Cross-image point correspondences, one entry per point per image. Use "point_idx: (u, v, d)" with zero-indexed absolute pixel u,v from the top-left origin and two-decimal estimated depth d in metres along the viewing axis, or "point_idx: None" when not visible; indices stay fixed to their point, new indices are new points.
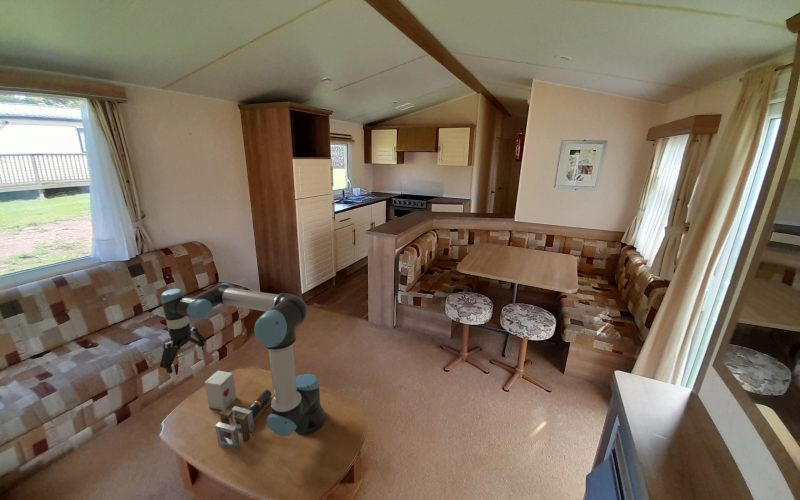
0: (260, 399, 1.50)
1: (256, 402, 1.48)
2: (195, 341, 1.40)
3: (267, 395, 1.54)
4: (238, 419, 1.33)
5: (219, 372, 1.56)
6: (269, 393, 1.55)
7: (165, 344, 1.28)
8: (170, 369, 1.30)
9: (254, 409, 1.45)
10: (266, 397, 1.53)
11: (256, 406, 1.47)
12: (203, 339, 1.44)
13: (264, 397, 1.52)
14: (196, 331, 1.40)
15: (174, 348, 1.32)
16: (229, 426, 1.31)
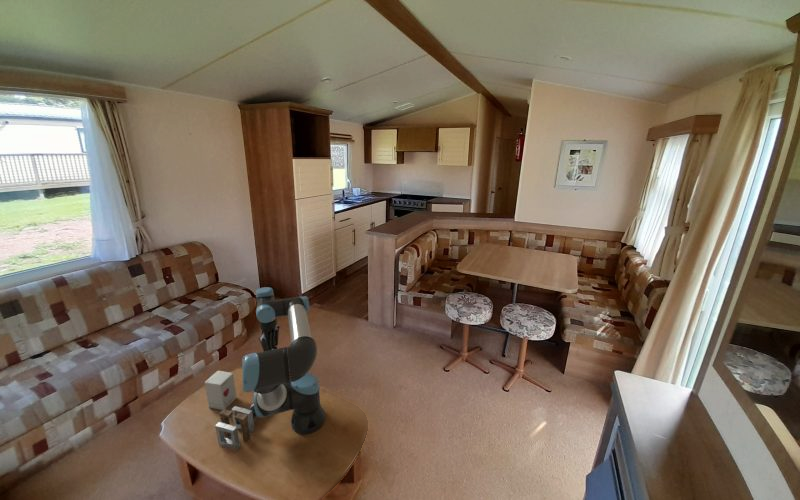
0: None
1: None
2: (274, 340, 1.56)
3: None
4: (238, 419, 1.33)
5: (219, 372, 1.56)
6: None
7: (260, 339, 1.48)
8: None
9: (254, 409, 1.45)
10: None
11: None
12: (277, 341, 1.58)
13: None
14: (278, 329, 1.58)
15: (267, 339, 1.52)
16: (229, 426, 1.31)
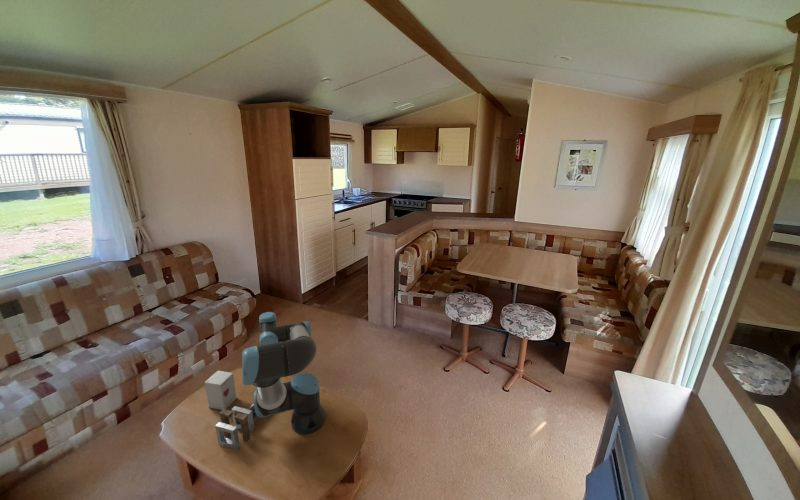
0: None
1: None
2: None
3: None
4: (238, 419, 1.33)
5: (219, 372, 1.56)
6: None
7: None
8: None
9: (254, 409, 1.45)
10: None
11: None
12: None
13: None
14: None
15: None
16: (229, 426, 1.31)
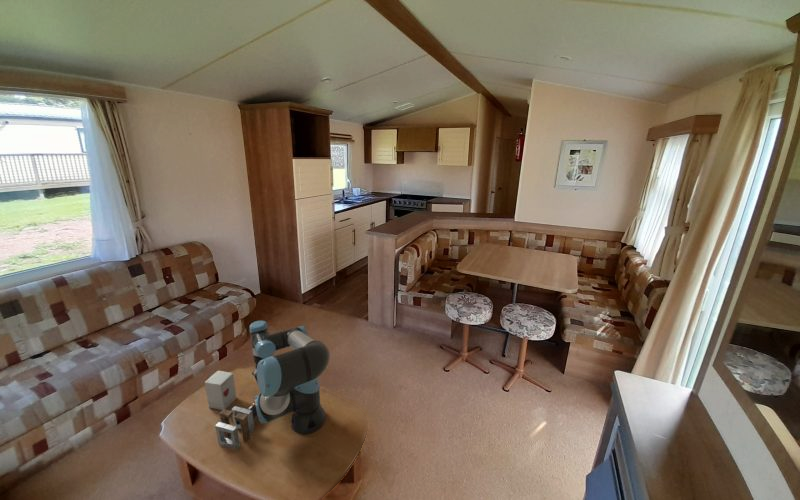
0: None
1: (254, 404, 1.47)
2: None
3: None
4: (238, 419, 1.33)
5: (219, 372, 1.56)
6: None
7: (253, 374, 1.46)
8: None
9: (252, 411, 1.44)
10: None
11: (254, 408, 1.46)
12: None
13: None
14: None
15: None
16: (229, 426, 1.31)
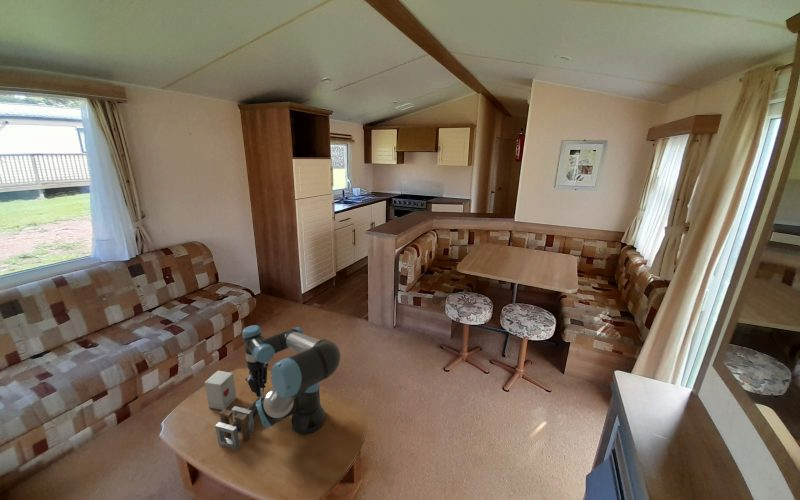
0: (252, 408, 1.45)
1: None
2: (262, 378, 1.49)
3: None
4: (238, 419, 1.33)
5: (219, 372, 1.56)
6: None
7: (247, 380, 1.42)
8: (259, 393, 1.49)
9: None
10: None
11: None
12: (265, 379, 1.52)
13: None
14: (266, 367, 1.52)
15: (255, 378, 1.46)
16: (229, 426, 1.31)
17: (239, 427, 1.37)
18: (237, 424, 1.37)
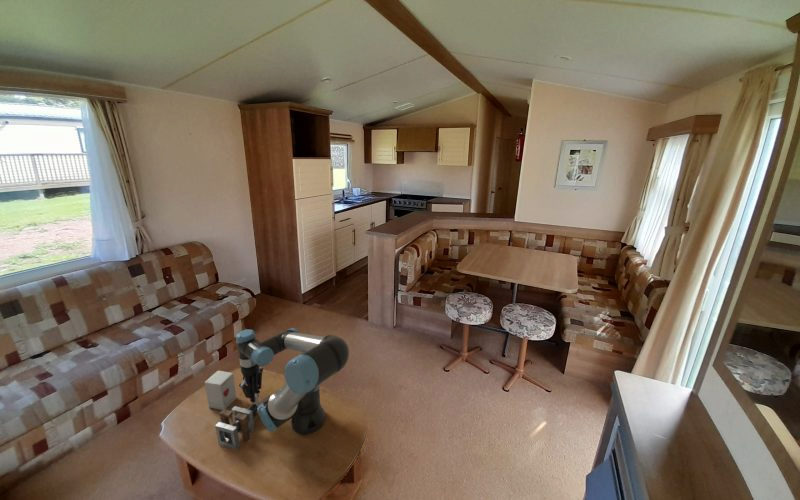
0: None
1: None
2: (256, 384, 1.46)
3: (253, 410, 1.45)
4: (238, 419, 1.33)
5: (219, 372, 1.56)
6: (256, 407, 1.46)
7: (240, 386, 1.38)
8: (253, 399, 1.46)
9: (239, 426, 1.37)
10: (252, 412, 1.44)
11: None
12: (260, 385, 1.49)
13: None
14: (261, 372, 1.48)
15: (249, 384, 1.43)
16: (229, 426, 1.31)
17: None
18: None
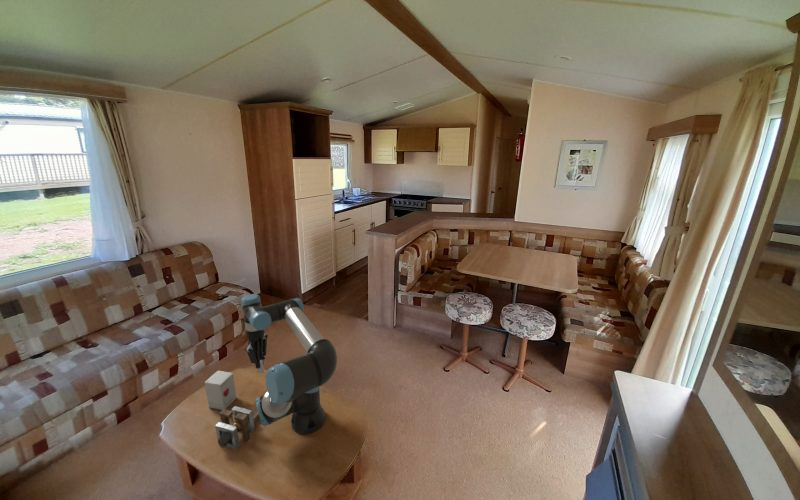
0: None
1: (235, 424, 1.36)
2: (261, 349, 1.47)
3: None
4: (238, 419, 1.33)
5: (219, 372, 1.56)
6: None
7: (246, 350, 1.39)
8: (259, 364, 1.47)
9: None
10: None
11: None
12: (265, 351, 1.49)
13: None
14: (266, 338, 1.49)
15: (255, 349, 1.44)
16: (229, 426, 1.31)
17: (226, 442, 1.30)
18: (224, 438, 1.30)
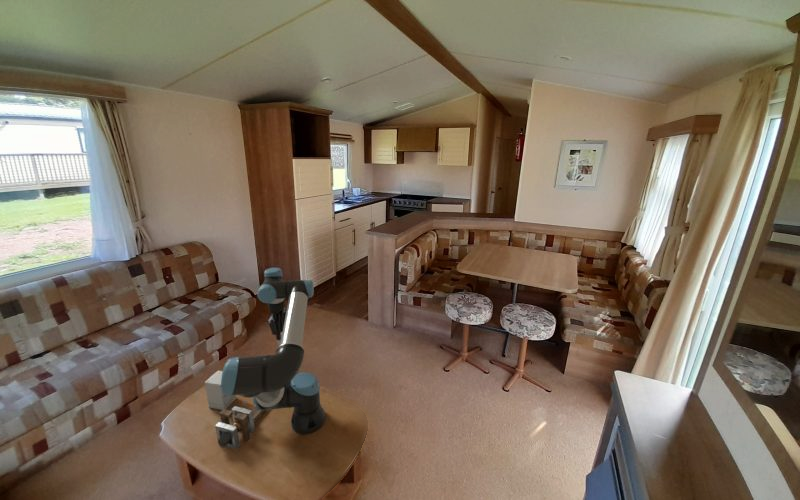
0: None
1: (235, 424, 1.36)
2: (282, 322, 1.52)
3: None
4: (238, 419, 1.33)
5: (219, 372, 1.56)
6: None
7: (268, 321, 1.44)
8: (279, 336, 1.52)
9: None
10: None
11: None
12: None
13: None
14: (286, 312, 1.55)
15: (276, 321, 1.49)
16: (229, 426, 1.31)
17: (226, 442, 1.30)
18: (224, 438, 1.30)
